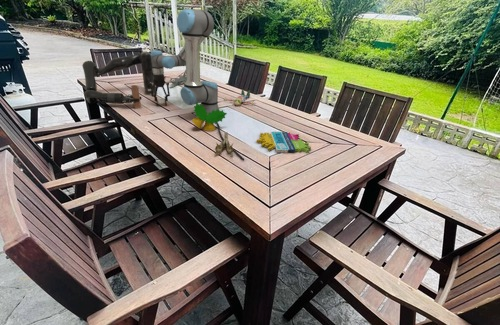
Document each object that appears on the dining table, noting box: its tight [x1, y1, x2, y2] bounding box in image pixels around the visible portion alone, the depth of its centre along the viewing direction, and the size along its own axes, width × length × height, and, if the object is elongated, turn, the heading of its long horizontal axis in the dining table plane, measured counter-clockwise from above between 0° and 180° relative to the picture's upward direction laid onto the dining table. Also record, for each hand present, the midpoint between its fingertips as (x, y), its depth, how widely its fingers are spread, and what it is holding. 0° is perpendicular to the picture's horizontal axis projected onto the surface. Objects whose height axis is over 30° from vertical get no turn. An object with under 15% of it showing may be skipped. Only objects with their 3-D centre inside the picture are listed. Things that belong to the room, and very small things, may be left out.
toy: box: [223, 89, 257, 106], centre depth 219 cm, size 28×7×30 cm
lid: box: [157, 98, 165, 104], centre depth 197 cm, size 6×6×2 cm
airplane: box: [165, 69, 186, 88], centre depth 260 cm, size 38×31×10 cm
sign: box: [256, 131, 312, 154], centre depth 152 cm, size 26×2×30 cm
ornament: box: [191, 102, 228, 132], centre depth 162 cm, size 21×8×15 cm, turn 105°
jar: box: [130, 84, 142, 109], centre depth 188 cm, size 5×5×16 cm
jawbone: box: [214, 131, 234, 156], centre depth 136 cm, size 9×15×10 cm
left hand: (140, 99), depth 189 cm, fingers closed on jar, 5 cm apart
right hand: (161, 105), depth 198 cm, fingers closed on lid, 6 cm apart
